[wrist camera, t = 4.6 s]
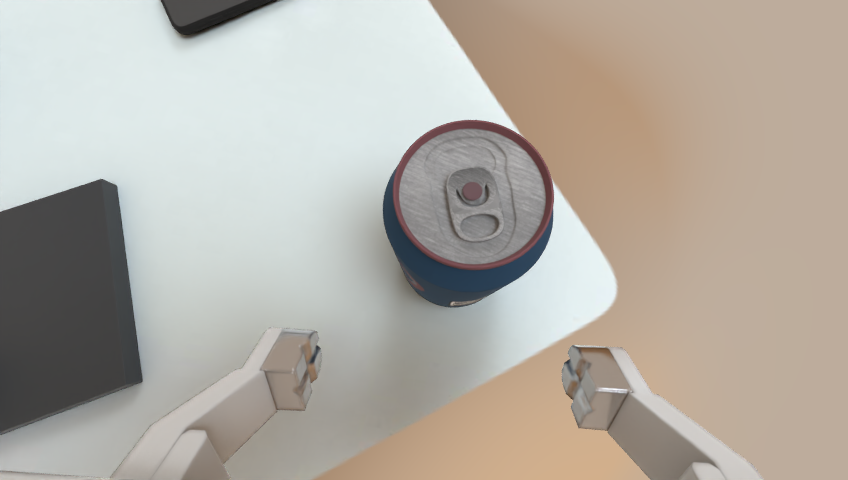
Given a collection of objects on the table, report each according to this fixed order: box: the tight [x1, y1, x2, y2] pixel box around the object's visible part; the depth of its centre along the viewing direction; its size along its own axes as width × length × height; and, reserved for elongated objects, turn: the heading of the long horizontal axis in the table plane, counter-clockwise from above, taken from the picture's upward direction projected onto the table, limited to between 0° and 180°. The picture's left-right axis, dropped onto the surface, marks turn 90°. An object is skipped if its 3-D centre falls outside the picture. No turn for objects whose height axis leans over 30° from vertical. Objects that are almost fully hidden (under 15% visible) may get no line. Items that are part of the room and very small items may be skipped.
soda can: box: [383, 120, 554, 307], centre depth 17 cm, size 7×7×12 cm
